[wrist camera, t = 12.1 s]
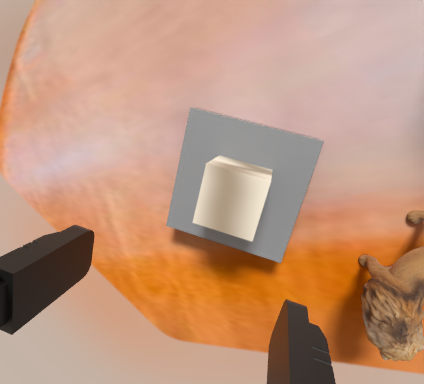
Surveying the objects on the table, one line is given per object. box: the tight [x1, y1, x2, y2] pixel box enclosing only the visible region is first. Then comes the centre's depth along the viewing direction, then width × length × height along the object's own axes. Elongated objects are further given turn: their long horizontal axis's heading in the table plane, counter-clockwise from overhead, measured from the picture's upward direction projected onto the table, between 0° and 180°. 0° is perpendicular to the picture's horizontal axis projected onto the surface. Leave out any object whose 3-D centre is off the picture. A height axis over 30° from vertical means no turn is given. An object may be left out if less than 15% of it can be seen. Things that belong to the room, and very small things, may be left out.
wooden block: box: [192, 155, 273, 242], centre depth 24 cm, size 5×5×5 cm
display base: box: [166, 108, 324, 263], centre depth 28 cm, size 12×12×3 cm
